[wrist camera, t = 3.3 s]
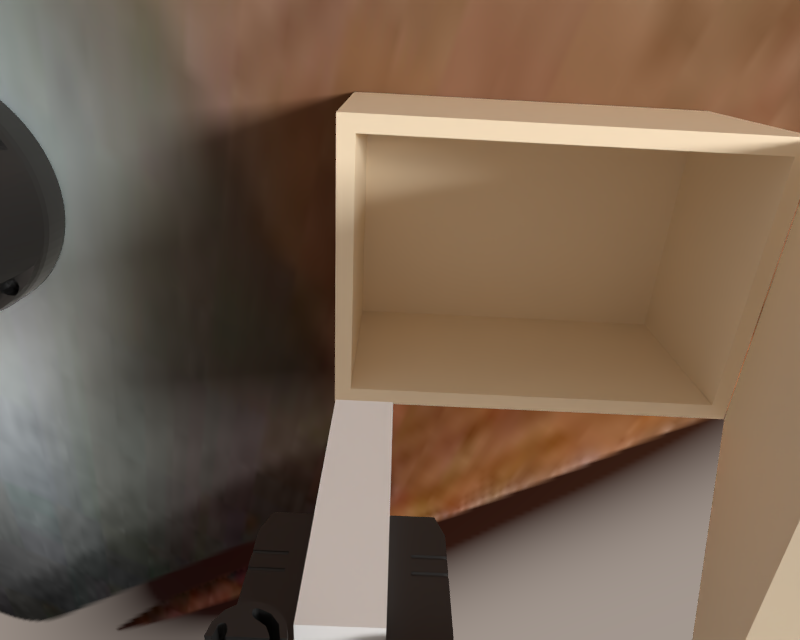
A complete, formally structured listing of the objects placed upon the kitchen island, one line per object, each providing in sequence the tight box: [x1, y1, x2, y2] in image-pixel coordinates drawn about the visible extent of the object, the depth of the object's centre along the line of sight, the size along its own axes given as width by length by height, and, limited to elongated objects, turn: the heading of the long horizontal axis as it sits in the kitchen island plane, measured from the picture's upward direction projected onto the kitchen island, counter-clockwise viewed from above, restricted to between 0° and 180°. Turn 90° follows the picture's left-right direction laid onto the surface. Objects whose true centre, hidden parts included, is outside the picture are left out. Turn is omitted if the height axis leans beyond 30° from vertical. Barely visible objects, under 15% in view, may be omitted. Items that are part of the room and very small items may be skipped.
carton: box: [335, 92, 800, 419], centre depth 32 cm, size 20×14×10 cm
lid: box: [692, 203, 800, 640], centre depth 19 cm, size 20×14×1 cm
